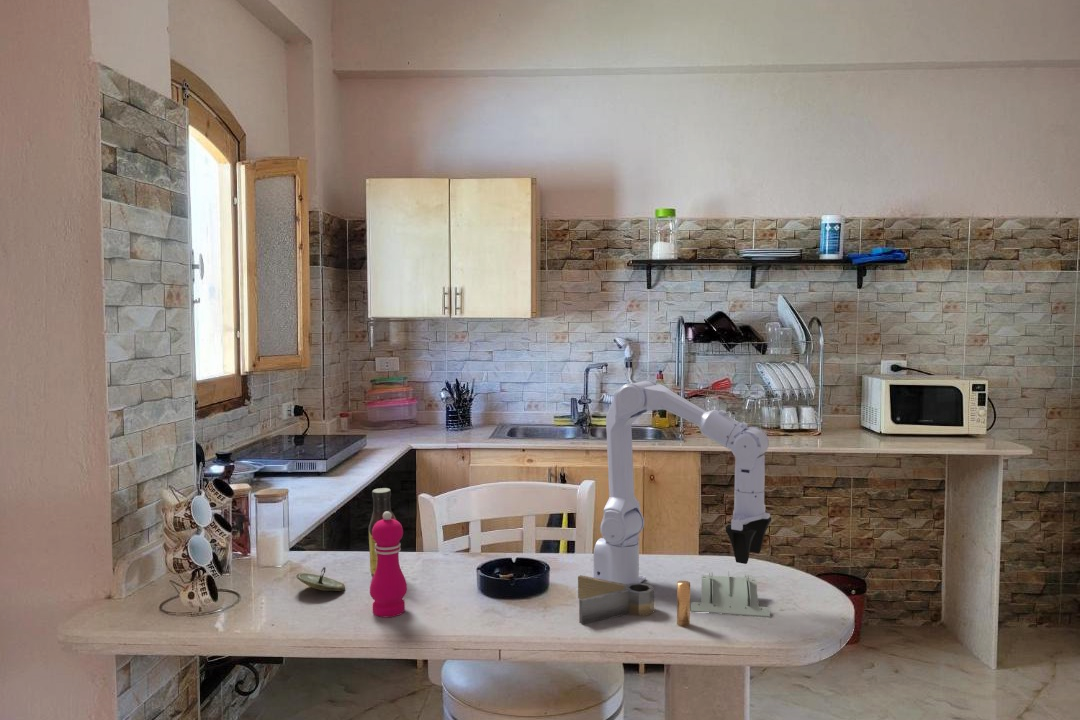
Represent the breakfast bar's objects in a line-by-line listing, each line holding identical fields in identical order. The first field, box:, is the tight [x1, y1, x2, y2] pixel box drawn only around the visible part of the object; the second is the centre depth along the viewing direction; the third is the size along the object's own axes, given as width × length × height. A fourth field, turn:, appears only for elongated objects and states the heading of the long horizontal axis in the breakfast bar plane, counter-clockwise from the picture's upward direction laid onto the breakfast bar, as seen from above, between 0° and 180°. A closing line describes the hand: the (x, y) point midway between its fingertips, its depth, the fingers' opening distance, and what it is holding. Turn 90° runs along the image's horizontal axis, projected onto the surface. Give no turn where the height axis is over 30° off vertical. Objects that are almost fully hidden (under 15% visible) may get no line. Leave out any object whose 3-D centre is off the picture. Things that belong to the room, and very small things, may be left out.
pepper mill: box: [369, 511, 408, 618], centre depth 158 cm, size 7×7×20 cm
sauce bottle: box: [368, 487, 400, 580], centre depth 177 cm, size 7×6×20 cm
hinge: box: [577, 574, 655, 625], centre depth 157 cm, size 16×15×4 cm
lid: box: [296, 566, 346, 592], centre depth 170 cm, size 11×10×5 cm
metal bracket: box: [690, 571, 771, 619], centre depth 162 cm, size 14×6×15 cm
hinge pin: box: [676, 580, 691, 628], centre depth 151 cm, size 2×2×8 cm
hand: (748, 557), depth 159 cm, fingers open, 7 cm apart
